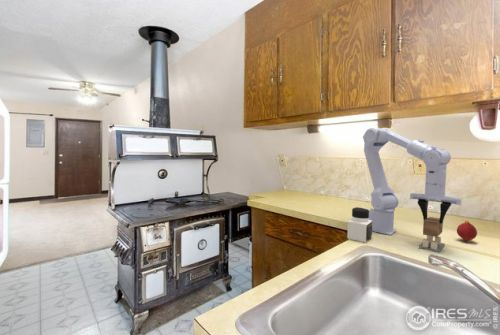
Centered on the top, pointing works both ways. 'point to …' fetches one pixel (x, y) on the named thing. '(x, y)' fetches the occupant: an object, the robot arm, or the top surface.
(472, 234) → the onion
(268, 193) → the top surface
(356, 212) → the medicine bottle
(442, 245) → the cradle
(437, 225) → the wooden block
